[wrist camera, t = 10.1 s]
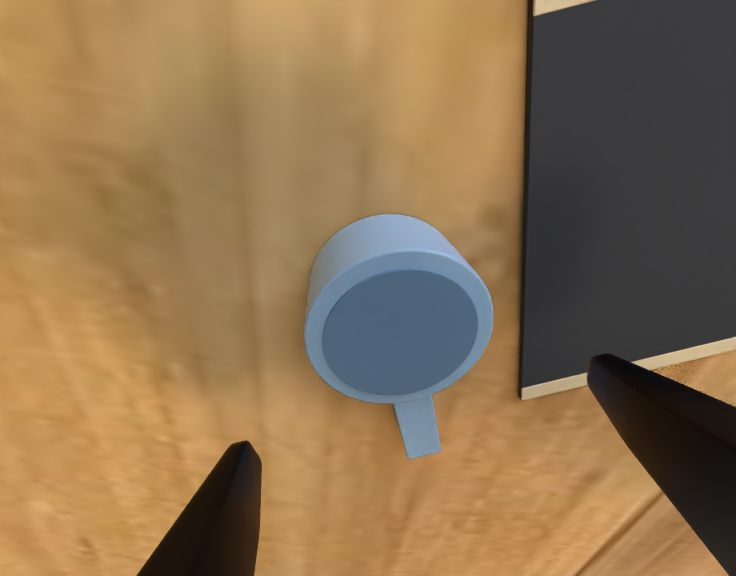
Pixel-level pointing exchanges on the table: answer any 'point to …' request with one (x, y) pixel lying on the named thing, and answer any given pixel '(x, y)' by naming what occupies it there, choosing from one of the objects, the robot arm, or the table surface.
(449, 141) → the table surface
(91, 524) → the table surface
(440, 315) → the scoop
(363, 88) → the table surface
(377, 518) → the table surface
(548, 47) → the dark gray flat panel
